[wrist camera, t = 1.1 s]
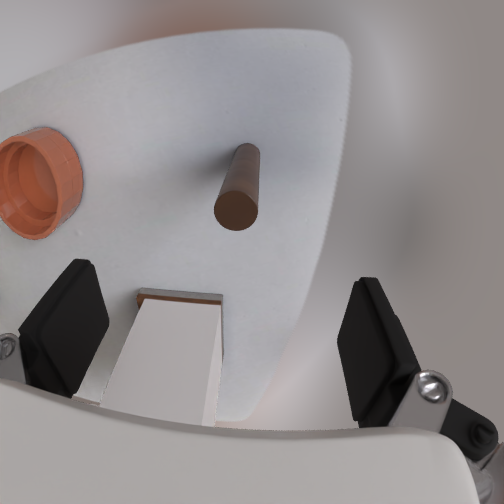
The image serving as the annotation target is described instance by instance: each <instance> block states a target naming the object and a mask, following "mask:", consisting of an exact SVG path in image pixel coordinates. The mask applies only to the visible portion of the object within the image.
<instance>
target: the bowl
mask: <svg viewBox="0 0 504 504" xmlns="http://www.w3.org/2000/svg"><path fill="white" fill-rule="evenodd" d="M82 191H83V173H82V169H81V165H80V162H79V159H78V156H77V154H76V152H75V150H74V149H73V147H72V145H71V144H70V142H69V141H68V140H67V139H66V138H65V137H64V136H63V135H62V134H60V133H59V132H57V131H55V130H52V129H50V128H47V127H42V128H34V129H31V130H28V131H25V132H22V133H20V134H17V135H14V136H12V137H10V138H8V139H7V140H5V141H3V142H2V143H1V144H0V216H1V218H2V220H3V221H4V222H5V224H6V225H7V226H8V227H9V228H10V229H11V230H12V231H14V232H15V233H17V234H18V235H20V236H22V237H23V238H27V239H32V240H38V239H42V238H46V237H47V236H48V235H49V234H51V233H52V232H53V231H54V230H55V229H57V228H58V227H59V226H60V225H61V224H62V223H63V222H64V221H66V220H67V219H68V218H69V217H70V216H71V215H72V214H73V213H74V212H75V210H76V208H77V207H78V205H79V203H80V200H81V195H82Z"/></svg>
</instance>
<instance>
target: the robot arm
mask: <svg viewBox="0 0 504 504" xmlns="http://www.w3.org/2000/svg"><path fill="white" fill-rule="evenodd" d="M108 327H109V317H108V313H107V310H106V307H105V304H104V300H103V297H102V293H101V289H100V286H99V282H98V278H97V274H96V270H95V267H94V265H93V264H91V262H90V261H89V260H85V259H74V260H73V261H72V262H71V263H70V264H69V266H68V267H67V268H66V269H65V270H64V271H63V273H62V274H61V275H60V276H59V277H58V279H57V280H56V281H55V282H54V283H53V285H52V286H51V287H50V288H49V290H48V291H47V292H46V293H45V295H44V296H43V297H42V298H41V300H40V301H39V302H38V304H37V305H36V306H35V308H34V309H33V310H32V311H31V313H30V314H29V315H28V317H27V318H26V320H25V321H24V322H23V324H22V325H21V326H20V328H19V329H18V331H19V333H20V336H19V338H18V337H17V336H16V335H14V334H12V333H5V334H2V335H0V504H504V443H503V442H502V443H501V444H499V443H498V432H497V430H496V427H495V425H494V424H493V423H492V422H491V421H490V420H488V419H487V418H485V417H484V416H482V415H480V414H478V413H477V412H475V411H473V410H471V409H470V408H468V407H466V406H464V405H463V404H461V403H459V402H457V401H456V400H454V399H452V394H453V391H452V386H451V384H450V382H449V380H448V379H447V378H446V377H445V376H444V375H442V374H441V373H439V372H436V371H434V370H424V371H421V368H420V366H419V364H418V361H417V359H416V356H415V354H414V351H413V349H412V347H411V345H410V342H409V340H408V338H407V336H406V334H405V331H404V329H403V327H402V325H401V323H400V320H399V318H398V317H397V316H396V315H395V314H394V312H393V309H392V307H391V305H390V303H389V301H388V299H387V297H386V295H385V293H384V291H383V289H382V287H381V285H380V283H379V281H378V279H377V278H371V277H361V278H360V279H359V281H355V282H354V285H353V288H352V292H351V295H350V299H349V302H348V305H347V309H346V312H345V315H344V318H343V321H342V325H341V328H340V331H339V334H338V338H337V345H338V350H339V354H340V358H341V363H342V367H343V372H344V377H345V381H346V386H347V391H348V396H349V401H350V406H351V411H352V416H353V420H354V421H358V424H359V428H354V429H338V430H308V431H307V430H305V431H274V430H273V431H272V430H247V429H232V428H219V427H210V426H201V425H192V424H185V423H178V422H171V421H165V420H159V419H153V418H148V417H142V416H137V415H132V414H128V413H123V412H119V411H114V410H110V409H106V408H102V407H98V406H94V405H90V404H87V403H83V402H80V401H76V400H73V399H71V398H72V396H73V394H75V393H77V391H78V389H79V387H80V385H81V383H82V380H83V378H84V376H85V374H86V372H87V370H88V367H89V365H90V363H91V361H92V359H93V357H94V355H95V353H96V351H97V349H98V347H99V345H100V343H101V341H102V339H103V337H104V335H105V333H106V331H107V329H108Z"/></svg>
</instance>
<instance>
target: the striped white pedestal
mask: <svg viewBox="0 0 504 504" xmlns="http://www.w3.org/2000/svg"><path fill="white" fill-rule="evenodd" d="M136 299H137V303H138V308H139V312H138V314H137V317H136V319H135V321H134V323H133V325H132V328H131V330H130V332H129V334H128V337H127V339H126V341H125V344H124V346H123V348H122V351H121V353H120V355H119V358H118V360H117V362H116V365H115V367H114V370H113V372H112V375H111V377H110V380H109V382H108V385H107V387H106V390H105V392H104V395H103V397H102V400H101V403H100V405H99V406H98V405H94V404H90V403H88V404H90V405H94V406H98V407H102V408H106V409H110V410H114V411H119V412H123V413H128V414H132V415H137V416H142V417H148V418H153V419H159V420H165V421H171V422H178V423H185V424H192V425H201V426H210V427H215V419H216V411H217V402H218V394H219V386H220V379H221V371H222V363H223V355H224V348H223V295H221V294H207V293H195V292H182V291H171V290H160V289H149V288H141V289H140V291H139V293H138V295H137V297H136Z"/></svg>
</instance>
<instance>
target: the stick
mask: <svg viewBox="0 0 504 504" xmlns="http://www.w3.org/2000/svg"><path fill="white" fill-rule="evenodd" d="M259 170H260V152H259V149H258V148H257V147H256V146H255V145H253V144H250V143H245V144H242V145H240V146H239V147H238V148H237V150H236V152H235V154H234V157H233V159H232V162H231V164H230V167H229V169H228V172H227V174H226V177H225V179H224V182H223V185H222V187H221V190H220V192H219V195H218V197H217V200H216V203H215V206H214V214H215V217H216V219H217V221H218V222H219V223H220V224H221V225H222V226H223V227H225V228H226V229H229V230H233V231H240V230H244V229H246V228H248V227H250V226H251V225H252V224H253V223H254V222H255V220H256V218H257V215H258V195H259Z"/></svg>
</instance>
